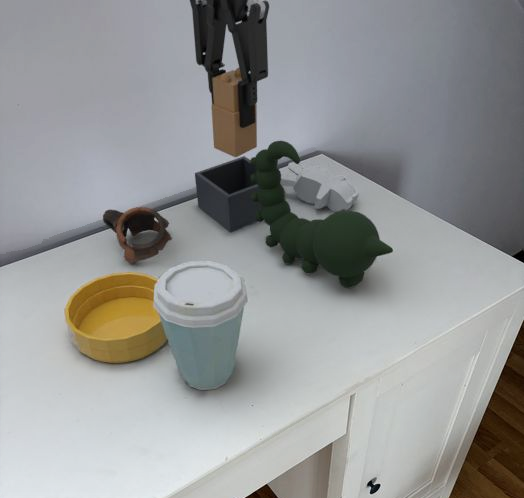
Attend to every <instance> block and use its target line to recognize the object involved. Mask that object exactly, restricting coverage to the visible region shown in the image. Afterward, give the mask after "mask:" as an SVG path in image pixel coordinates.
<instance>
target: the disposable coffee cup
mask: <svg viewBox="0 0 524 498" xmlns="http://www.w3.org/2000/svg"><path fill="white" fill-rule="evenodd" d="M157 279H158V282H157V283H156V284H155V286H154V304H153V307H154V308H155V309H156V310H157V311H158V314H159V317H160V319H161V322H162V325H163V328H164V330H165V333H166V336H167V339H168V340H167V342H168V344H169V347H170V350H171V352H172V355H173V358H174V362H175V364H176V366H177V369H178V372H179V374H180V376H181V377H182V379H183V380H184V381H185V382H186V384H187V385H188V386H189V387H191V388H194V389H197V390H199V391H210V390H211V391H213V390H215V389H218V388H220V387H222V386H225V384H226V383H227V382H228V380H229V378H230V377H231V376H232V374H233V372H234V370H235V369H234V368H235V364H236V363H235V362H236V357H237V351H238V345H239V344H238V343H239V339H240V333H241V327H242V321H243V316H244V309H245V306H246V304H247V303H248V302H249V301H248V294H247V286H246V282H245V279H244V278H243V277H242V276H241V275H240V274H239V273H237V272H236V271H235V270H234V269H233V268H232V267H230V266H229V265H226V264H222V263H219V262H216V261H211V260H197V261H195V260H193V261H186V262H184V263H180V264H178V265H175V266H172V267H170V268H168V269H167V270H166V271H165V272H164V273H163V274H161V276H159V278H157Z"/></svg>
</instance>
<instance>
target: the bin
mask: <svg viewBox="0 0 524 498" xmlns="http://www.w3.org/2000/svg"><path fill="white" fill-rule="evenodd" d="M250 160H251V158H248V157H247V156H245V155H244V156H239V157H236V158H235V159H232V160H228V161H226V162H223V163H220V164H217V165H214V166H212V167H208V168H205V169H202V170H200V171H197V172H195V173H194V179H195V180H194V181H195V187H196V188H195V189H196V198H197V199H196V200H197V206H198V207H197V208H199V209H200V210H201V211H202V212H204V213H205V214H206V215H207V216H208V217H210V218H211V219H213V220H214V221H215V222H217V224H219V225H220V226H222V227H223V228H224V229H225V230H227V231H228V232H229V233H233V232H235V231H238V230H240V229H242V228H245V227H247V226H250V225H252V224H255V223H257V222H258V221H256V219H255V218H254V217H255V213H256V212H257V211H260V210H261V207H262V205H261V204H260V202H259V201H258V202H254V201H252V199H251V196H252V194H253V193H255V192H257V193H258V189H259V186H258V185H257V183H256V184H255V183H252V182H251V181H250V177H251V175H252V174H256V171H257V169H256V167H255V166H252V165H251V164H250Z"/></svg>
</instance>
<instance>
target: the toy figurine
mask: <svg viewBox="0 0 524 498" xmlns="http://www.w3.org/2000/svg"><path fill="white" fill-rule="evenodd" d="M283 158H287V159H289V160H291V162H295V163H296V164H299V165H300V163H301V158H300V155H299V154H298V151H297V149H296V148H295V147H294V146H293V144H291V143H289V141H285V140H276V141H273V142H271V143H270V144H269V145H268V147H267V148H265V149H261V150H259V151H258V152H257V153H256V155H255V156H253V157H251V158H250V164H251V165H252V166H255V167H256V169H257V171H256V174H252V175H251V177H250V181H251V182H252V183H255V184H256V183H257V185H258V186H259V189H258V193H257V192H255V193H253V194H252V196H251V199H252V201H254V202H258V201H259V202H260V204H261V205H262V207H261V210H260V211H257V212H256V213H255V217H254V218H255V219H256V221H257V222H259V223H262V222H264V224H266V225H268V226H269V233H270V234H269V235H267V236H266V237H265V245H266V246H267V247H269V248H275V247H277V246H278V245H280V247H281V250H282V251H283V253H282V256H281V259H282V261H283V263H284V264H287V265H291V264H292V263H294V262H295V261H296V259H299V260H301V259H302V260H301V263H300V268H301V270H302V271H303V273H305V274H308V275H311V274H314V273H315V272H317V271H318V270H319V266H320V267H321V268H322V269H323V270H324V271H326V273H329V274H330V275H332V276H335V277H338V281H339V284H340V285H341V287H343V288H346V289H351V288H353V287H355V286H357V285H358V284H360V283H361V282H362V281H363V279H364V277H365V274H366V273H365V272H366V271H367V270H368V269H370V268H371V267H372V265H373V264H374V263H375V261H376V260H377V257H381V256H384V255H388V254H393V252H394V248H393V247H391V246H390V245H388V244H387V243H385V242H384V241H383V240H381V239H380V233H379V231H378V229H377V227H376V225H375V223H373V221H372V220H371V219H370V218H369V217H368V216H366V215H365V214H363V213H361V212H358V211H355V210H341V211H337V212H334V213H331V214H329V215H328V216H326V218H324V219H321V218H320V219H319V218H318V219H317V218H315V219H311V220H309V219H307V218H303V217H299V216H298V215H297V214H295V213H294V212H293V211H292V210H291V207H290V204H289V202H288V201H287V200H286V191H285V187H284V186H282V185H281V184H280V182H281V174H282V173H281V170H280V169H279V167H278V162H279V160H281V159H283Z"/></svg>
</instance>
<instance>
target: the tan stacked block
mask: <svg viewBox="0 0 524 498" xmlns="http://www.w3.org/2000/svg"><path fill="white" fill-rule="evenodd" d="M212 79H213V96H214V104H213V105H212V104H210V105H211V120H212V121H211V123H212V135H213V136H212V137H213V149H215V150H218V151H220V152H222V153H224V154H226V155H228V156H231V157H233V158H239V157H241V156H242V155H244V154H246V153H248V152H250V151H252V150H254V149H256V148H257V147H258V130H257V129H258V123H257V122H258V119H257V118H258V117H257V115H258V113H257V112H258V111H257V109H258V108H257V106H258V105H257V103H256V104H255V123H254V124H251V125H249V126H247V127H245V128H242V127H240V112H239V97H238V83H239V81H241V80H242V78H241V73H240V69H239V67H237V68H236V69H231V70H230V71H226V73H223V74H221V75H219V76H216V77H214V78H212Z"/></svg>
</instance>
